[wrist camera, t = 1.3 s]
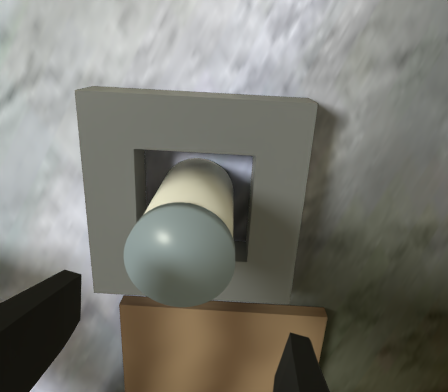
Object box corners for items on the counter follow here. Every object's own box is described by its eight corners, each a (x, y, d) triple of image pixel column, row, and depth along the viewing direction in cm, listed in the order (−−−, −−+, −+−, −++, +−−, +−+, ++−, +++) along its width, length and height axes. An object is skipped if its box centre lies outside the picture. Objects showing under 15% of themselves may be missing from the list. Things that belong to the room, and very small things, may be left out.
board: (129, 399, 29) (126, 410, 28) (123, 295, 25) (119, 304, 24) (304, 410, 29) (307, 422, 28) (324, 307, 25) (327, 317, 24)
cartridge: (161, 223, 23) (126, 304, 16) (160, 154, 21) (120, 206, 14) (232, 228, 23) (231, 310, 16) (237, 158, 21) (238, 213, 14)
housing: (107, 270, 24) (94, 292, 22) (93, 86, 20) (74, 89, 18) (284, 280, 24) (289, 304, 22) (308, 98, 20) (318, 103, 18)
